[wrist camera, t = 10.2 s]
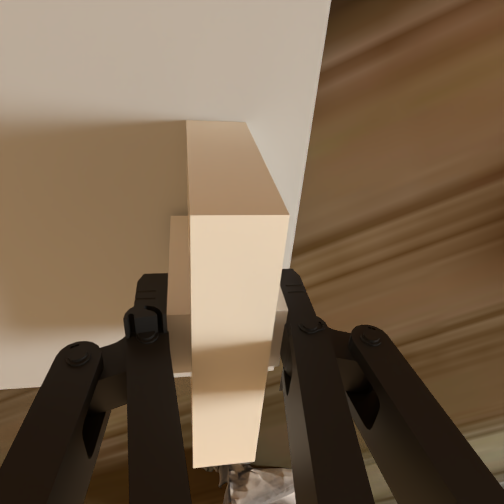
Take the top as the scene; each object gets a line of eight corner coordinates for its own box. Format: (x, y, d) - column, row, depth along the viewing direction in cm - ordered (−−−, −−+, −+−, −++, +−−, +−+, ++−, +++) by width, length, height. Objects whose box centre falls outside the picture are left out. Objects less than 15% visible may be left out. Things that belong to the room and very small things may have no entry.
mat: (-173, -51, 12) (-192, -53, 12) (325, -6, 15) (332, -6, 14) (2, 378, 23) (-3, 389, 22) (271, 360, 26) (273, 370, 25)
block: (186, 119, 16) (190, 215, 9) (245, 122, 16) (289, 214, 10) (189, 323, 22) (193, 468, 15) (232, 320, 22) (254, 461, 16)
